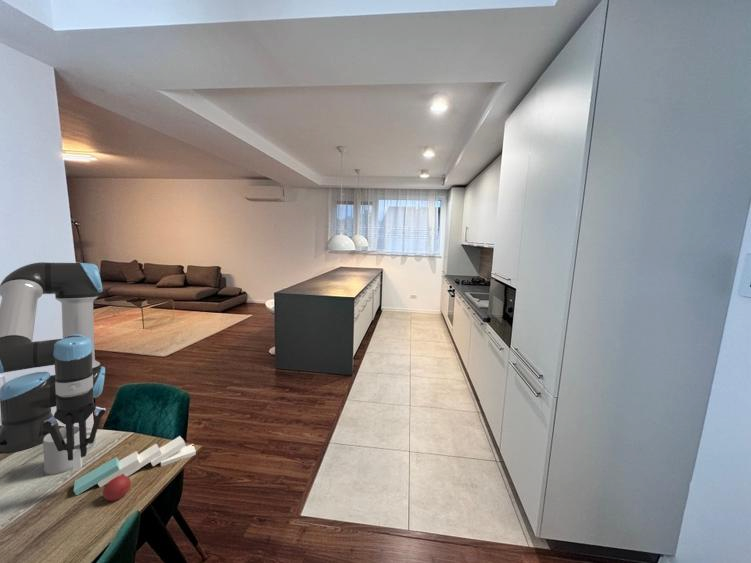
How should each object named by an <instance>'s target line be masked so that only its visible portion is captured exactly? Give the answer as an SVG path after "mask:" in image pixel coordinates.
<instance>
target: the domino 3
mask: <svg viewBox="0 0 751 563" xmlns="http://www.w3.org/2000/svg"><path fill="white" fill-rule="evenodd" d="M159 448H160V447H159V445H158V444H157V443H154V444H153V445H152V446H150V447H148V448H147V449H145V450H144V451H141V452H140V453H138V454H139V460H140V464H138V465H137V466H135V467H133V468H132V469H130V470H128V471H127V472H125V473H123V474H122V475H125V476H127V477H129V476H131V475H132V474H134V473H136V472H137V471H138V470H140V469H141V468H143V467H144V466H146V465H147V464H149V463H151V461H152V460H154V459H155V458H157V457H158V456H160V455H161V454H162V453H161V451H160V449H159Z"/></svg>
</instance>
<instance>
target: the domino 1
mask: <svg viewBox="0 0 751 563" xmlns="http://www.w3.org/2000/svg"><path fill="white" fill-rule="evenodd" d="M119 461H120V460H119V458H118V457H117V456H115V457H114V458H112V459H110V460H108V461H106V462H105V463H103V464H101V465H100V466H97V467H96V468H94V469H93V470H91V471H89V472H87V473H86V474H84V475H82V476H80V477H79V478H76V479H75V480H74V484H73V485H74V486H73V492H74V494H75V495H76V496H79V495H81V494H82V493H84V492H85V491H87V490H89V489H90V488H92V487H94V486H95V485H98V484H97V483H98V482H100V481H102V480H103V479H105V478H107V477H108V476H110V475H112V474H113V473H115V472H117V471H118V470H120V468H119Z"/></svg>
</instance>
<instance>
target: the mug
mask: <svg viewBox="0 0 751 563" xmlns="http://www.w3.org/2000/svg"><path fill="white" fill-rule="evenodd" d="M59 430H60V433H61V435H62V437H63V439H64V441H65V443H67V437H66V426H65V427H61V428H59ZM91 431H92V429H86V435H87V436H88V435H89V436H90V434H91ZM96 440H97V435H96V436H95V439H94V442H93V443H89V444H88V445H87V451H88V450H89V449H92V448H93V447H94V445H95V443H96ZM74 442H75V444H74V446H75V445H79V444H80V439H79V426H75V425H74ZM42 444H43V446H42V448H43V471H44V474H46V475H50V476H51V475H52V476H53V475H59V474H62V473H64V472H68V471H70V470H72V469H73V460H70V461H68V454H67V451H66V450H63V451H58V450H57V448H56V446H55V443H54V441H53V439H52V437H51V435H50V433H49V434H48V435H46V436H45V437H44V439H43V443H42Z"/></svg>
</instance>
